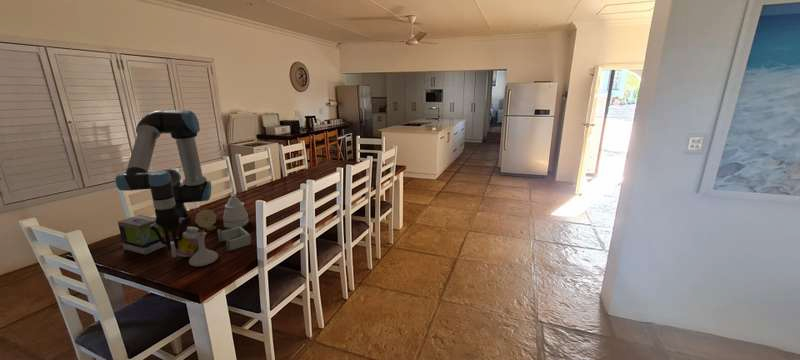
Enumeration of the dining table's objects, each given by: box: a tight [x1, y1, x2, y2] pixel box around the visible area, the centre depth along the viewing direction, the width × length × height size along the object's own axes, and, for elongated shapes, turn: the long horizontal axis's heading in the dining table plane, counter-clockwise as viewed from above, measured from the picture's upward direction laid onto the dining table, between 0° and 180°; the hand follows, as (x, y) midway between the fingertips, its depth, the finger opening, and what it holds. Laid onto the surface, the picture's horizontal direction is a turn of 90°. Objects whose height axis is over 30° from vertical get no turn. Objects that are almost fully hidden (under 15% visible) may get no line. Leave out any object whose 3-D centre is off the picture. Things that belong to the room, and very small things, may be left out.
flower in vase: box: [188, 209, 219, 267], centre depth 137 cm, size 13×11×25 cm
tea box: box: [117, 214, 166, 255], centre depth 149 cm, size 15×10×15 cm, turn 71°
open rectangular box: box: [217, 226, 252, 252], centre depth 158 cm, size 14×11×6 cm
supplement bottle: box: [176, 226, 200, 258], centre depth 143 cm, size 7×7×13 cm
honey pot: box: [222, 194, 250, 229], centre depth 178 cm, size 13×13×18 cm
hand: (174, 255), depth 141 cm, fingers closed
